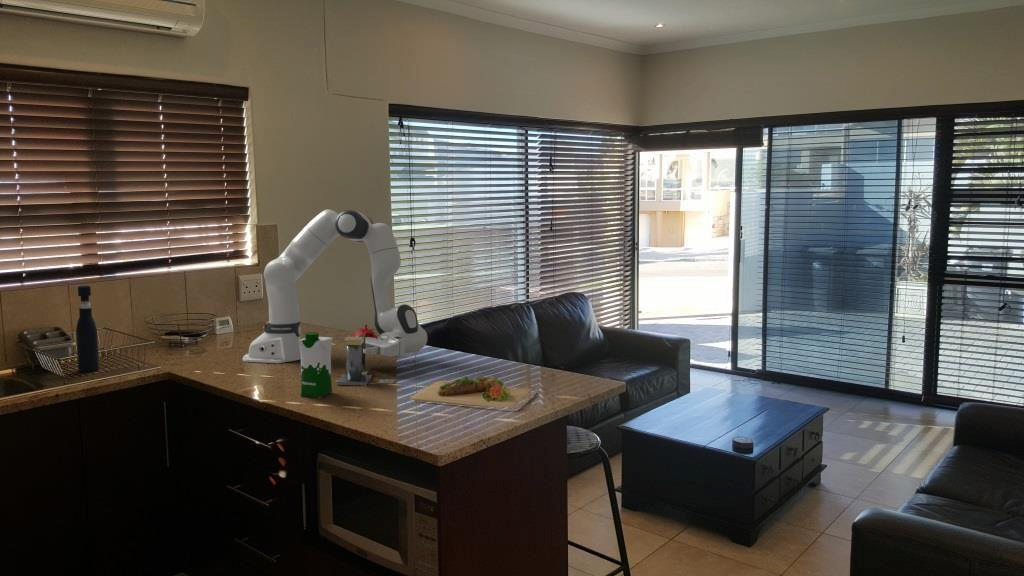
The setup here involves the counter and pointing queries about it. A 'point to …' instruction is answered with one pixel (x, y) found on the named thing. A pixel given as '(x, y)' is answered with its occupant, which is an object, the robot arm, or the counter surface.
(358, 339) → the lever
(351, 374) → the post
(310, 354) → the milk carton
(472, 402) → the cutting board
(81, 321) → the dark blue bottle
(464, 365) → the counter surface
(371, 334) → the pomegranate
